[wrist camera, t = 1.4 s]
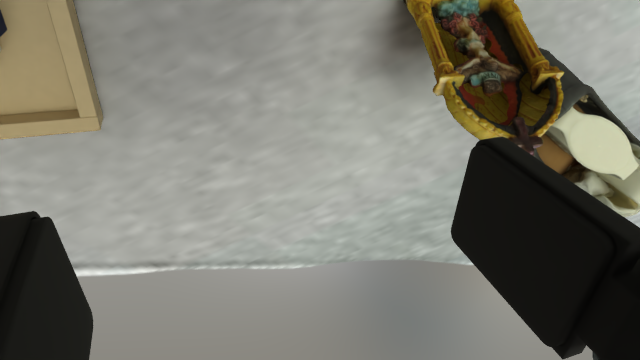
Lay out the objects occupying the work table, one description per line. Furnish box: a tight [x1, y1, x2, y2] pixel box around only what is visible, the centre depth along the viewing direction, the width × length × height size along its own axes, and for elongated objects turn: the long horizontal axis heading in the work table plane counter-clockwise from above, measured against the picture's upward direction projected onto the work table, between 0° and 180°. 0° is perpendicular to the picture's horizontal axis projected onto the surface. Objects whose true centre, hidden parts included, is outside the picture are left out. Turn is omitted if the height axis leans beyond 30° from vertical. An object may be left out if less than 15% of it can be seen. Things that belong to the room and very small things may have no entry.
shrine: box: [403, 0, 564, 156], centre depth 27 cm, size 12×8×15 cm
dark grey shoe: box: [534, 48, 640, 217], centre depth 41 cm, size 10×30×10 cm, turn 55°
